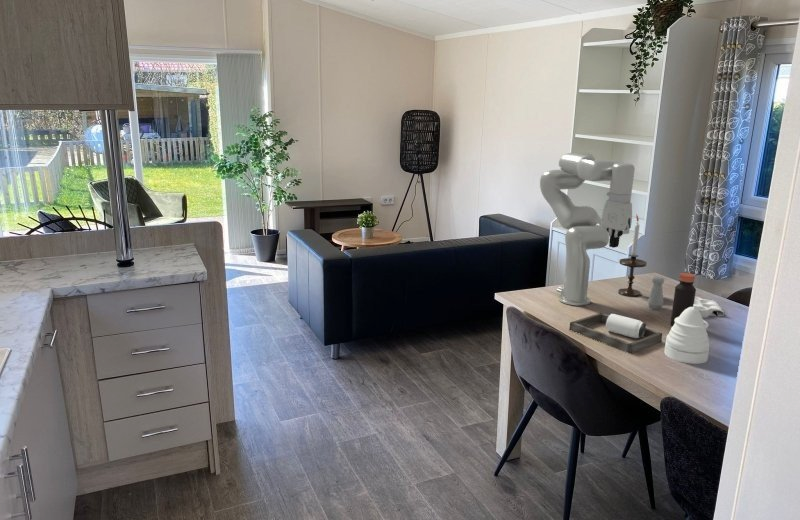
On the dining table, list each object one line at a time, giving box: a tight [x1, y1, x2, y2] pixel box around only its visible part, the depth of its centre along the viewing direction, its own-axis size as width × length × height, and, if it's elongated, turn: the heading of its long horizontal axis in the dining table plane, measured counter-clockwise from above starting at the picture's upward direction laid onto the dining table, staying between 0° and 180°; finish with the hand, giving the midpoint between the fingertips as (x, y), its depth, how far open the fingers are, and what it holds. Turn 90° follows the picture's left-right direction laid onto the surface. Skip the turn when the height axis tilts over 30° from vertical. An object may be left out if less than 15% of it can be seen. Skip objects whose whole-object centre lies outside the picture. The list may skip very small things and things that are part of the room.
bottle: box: [669, 272, 697, 327], centre depth 214 cm, size 7×7×20 cm
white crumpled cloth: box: [694, 296, 725, 318], centre depth 234 cm, size 3×18×15 cm
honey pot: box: [664, 304, 710, 365], centre depth 190 cm, size 13×13×18 cm
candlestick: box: [618, 213, 647, 298], centre depth 250 cm, size 11×11×35 cm
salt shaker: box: [647, 276, 665, 311], centre depth 235 cm, size 6×6×13 cm
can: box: [605, 313, 647, 340], centre depth 208 cm, size 6×6×12 cm
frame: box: [568, 312, 663, 354], centre depth 207 cm, size 25×18×3 cm
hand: (613, 246), depth 217 cm, fingers closed
